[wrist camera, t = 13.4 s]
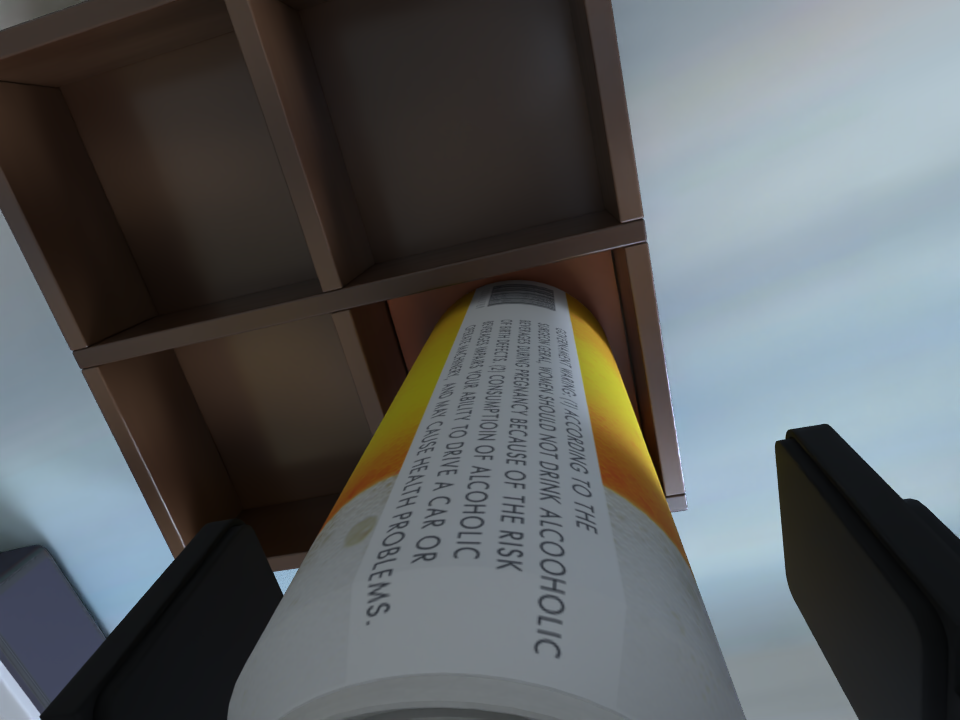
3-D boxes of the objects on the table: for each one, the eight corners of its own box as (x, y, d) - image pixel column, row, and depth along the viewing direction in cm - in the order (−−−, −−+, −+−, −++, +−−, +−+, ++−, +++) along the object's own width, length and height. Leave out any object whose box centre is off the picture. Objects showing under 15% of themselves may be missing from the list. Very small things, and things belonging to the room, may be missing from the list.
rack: (54, 74, 19) (-78, 55, 15) (572, -94, 16) (585, -174, 12) (245, 512, 24) (186, 585, 20) (659, 441, 21) (688, 510, 17)
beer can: (440, 447, 21) (249, 1049, 7) (417, 281, 19) (84, 664, 5) (611, 439, 20) (778, 1093, 6) (607, 266, 18) (838, 663, 4)
